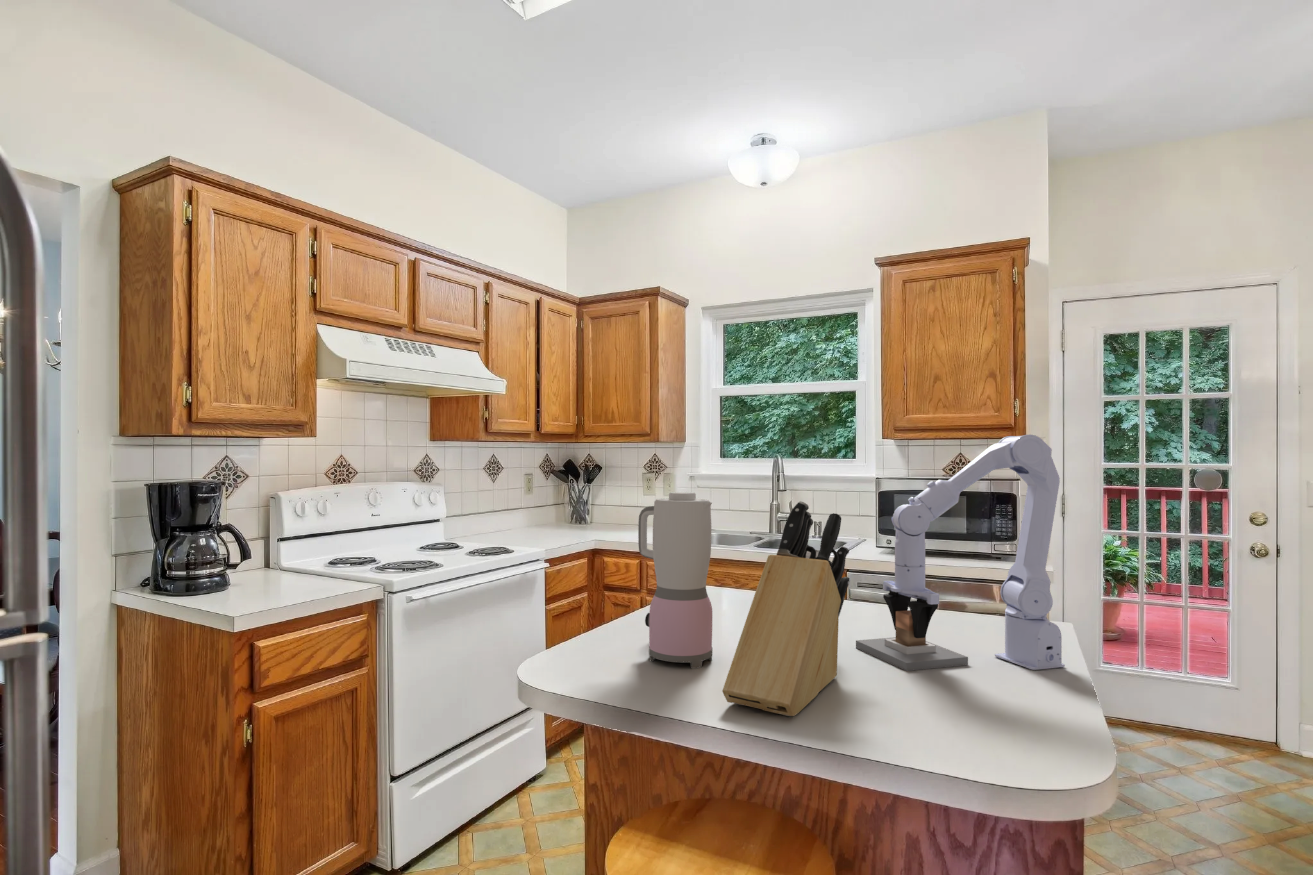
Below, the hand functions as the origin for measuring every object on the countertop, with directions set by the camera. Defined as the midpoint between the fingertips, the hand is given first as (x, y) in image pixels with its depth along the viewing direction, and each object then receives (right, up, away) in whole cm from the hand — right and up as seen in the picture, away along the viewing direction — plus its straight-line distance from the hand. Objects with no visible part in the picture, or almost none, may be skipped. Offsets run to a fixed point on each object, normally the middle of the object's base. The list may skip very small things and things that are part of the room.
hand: (909, 633), depth 137 cm
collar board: (0, -4, 0) cm, 4 cm away
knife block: (-27, -4, -19) cm, 33 cm away
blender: (-47, -4, -4) cm, 48 cm away
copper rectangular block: (0, -3, 0) cm, 3 cm away
